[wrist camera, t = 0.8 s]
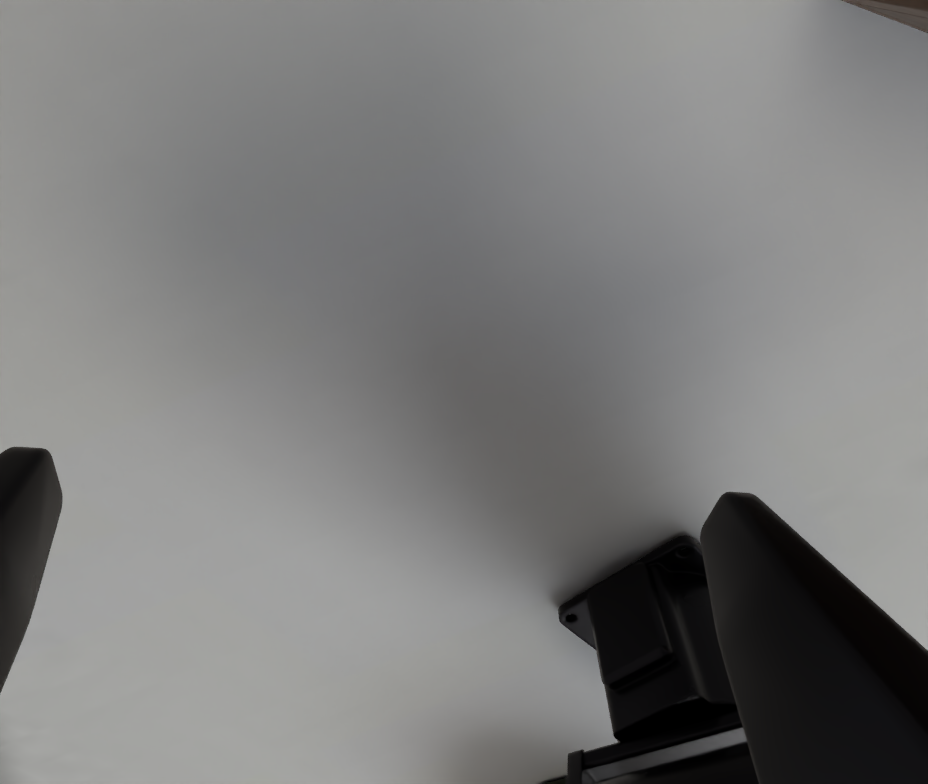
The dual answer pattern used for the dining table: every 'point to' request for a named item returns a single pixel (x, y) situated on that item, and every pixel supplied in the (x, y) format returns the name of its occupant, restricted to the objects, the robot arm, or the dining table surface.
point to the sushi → (558, 782)
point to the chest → (898, 11)
